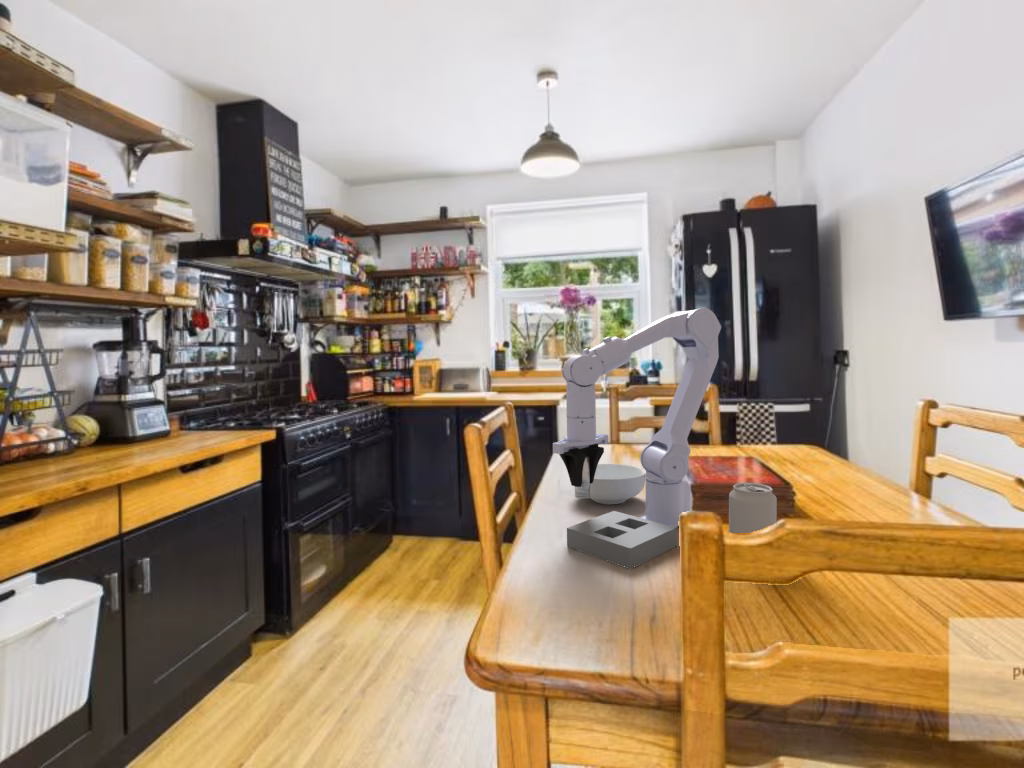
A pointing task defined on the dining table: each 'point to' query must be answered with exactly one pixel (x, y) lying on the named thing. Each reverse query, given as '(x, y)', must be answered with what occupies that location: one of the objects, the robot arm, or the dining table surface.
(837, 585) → the dining table surface
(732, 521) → the can
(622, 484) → the cereal bowl
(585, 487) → the pin
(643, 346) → the robot arm
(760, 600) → the dining table surface
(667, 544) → the hole block
